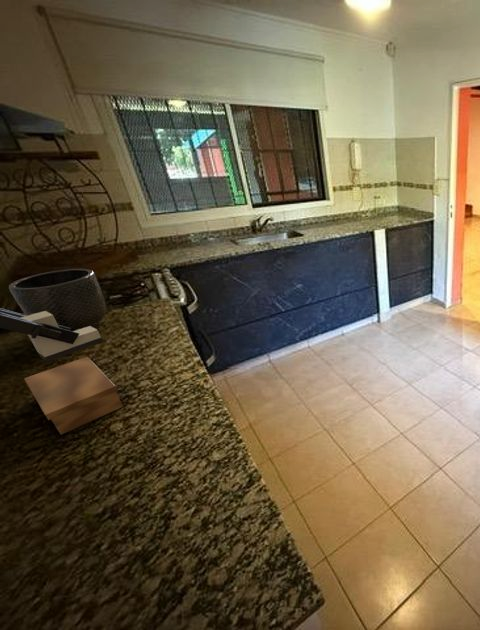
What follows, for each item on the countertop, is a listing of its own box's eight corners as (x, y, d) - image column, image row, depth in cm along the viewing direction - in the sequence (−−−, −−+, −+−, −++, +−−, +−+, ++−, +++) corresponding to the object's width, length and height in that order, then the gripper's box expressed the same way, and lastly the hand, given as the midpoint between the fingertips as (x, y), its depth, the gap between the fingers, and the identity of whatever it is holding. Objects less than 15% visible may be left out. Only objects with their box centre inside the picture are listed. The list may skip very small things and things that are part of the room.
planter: (117, 313, 130) (96, 265, 122) (113, 333, 116) (89, 280, 107) (46, 327, 120) (18, 275, 112) (31, 351, 105) (-2, 294, 97)
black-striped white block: (47, 361, 78) (25, 322, 73) (39, 356, 80) (18, 317, 75) (103, 341, 86) (86, 305, 81) (95, 337, 88) (78, 301, 83)
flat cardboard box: (58, 436, 74) (45, 414, 72) (35, 397, 86) (23, 378, 83) (125, 405, 83) (115, 385, 80) (96, 374, 95) (87, 356, 92)
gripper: (-111, 303, 65) (47, 341, 85) (-93, 324, 57) (76, 360, 77) (-83, 269, 67) (66, 314, 87) (-61, 285, 59) (96, 330, 79)
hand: (70, 335), depth 82 cm, fingers closed on black-striped white block, 4 cm apart
